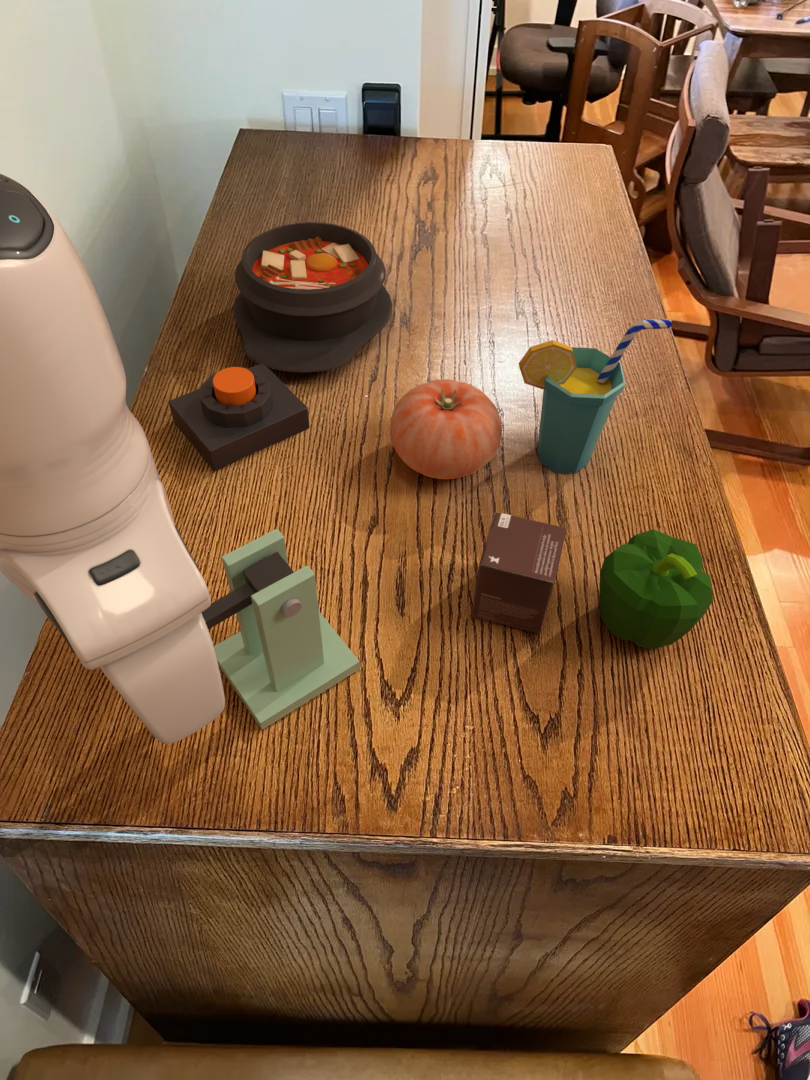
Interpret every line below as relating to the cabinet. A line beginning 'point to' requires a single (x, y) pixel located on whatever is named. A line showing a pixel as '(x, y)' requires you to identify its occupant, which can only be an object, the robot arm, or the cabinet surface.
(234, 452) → the button housing
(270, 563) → the lever
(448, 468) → the tomato
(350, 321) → the casserole
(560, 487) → the cabinet surface
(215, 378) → the button
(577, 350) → the cup
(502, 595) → the box
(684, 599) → the bell pepper
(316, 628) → the lever stand
